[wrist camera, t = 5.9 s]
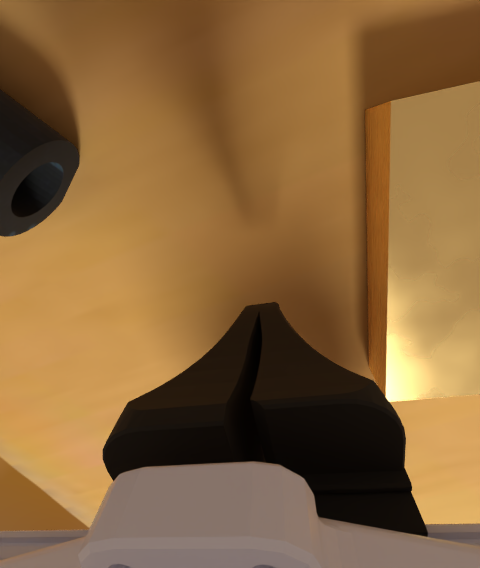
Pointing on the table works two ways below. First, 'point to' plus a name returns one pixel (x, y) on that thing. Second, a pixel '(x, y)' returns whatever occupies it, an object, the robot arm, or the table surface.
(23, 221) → the pipe connector
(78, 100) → the table surface
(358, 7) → the table surface
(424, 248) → the tan flat block
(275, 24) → the table surface
